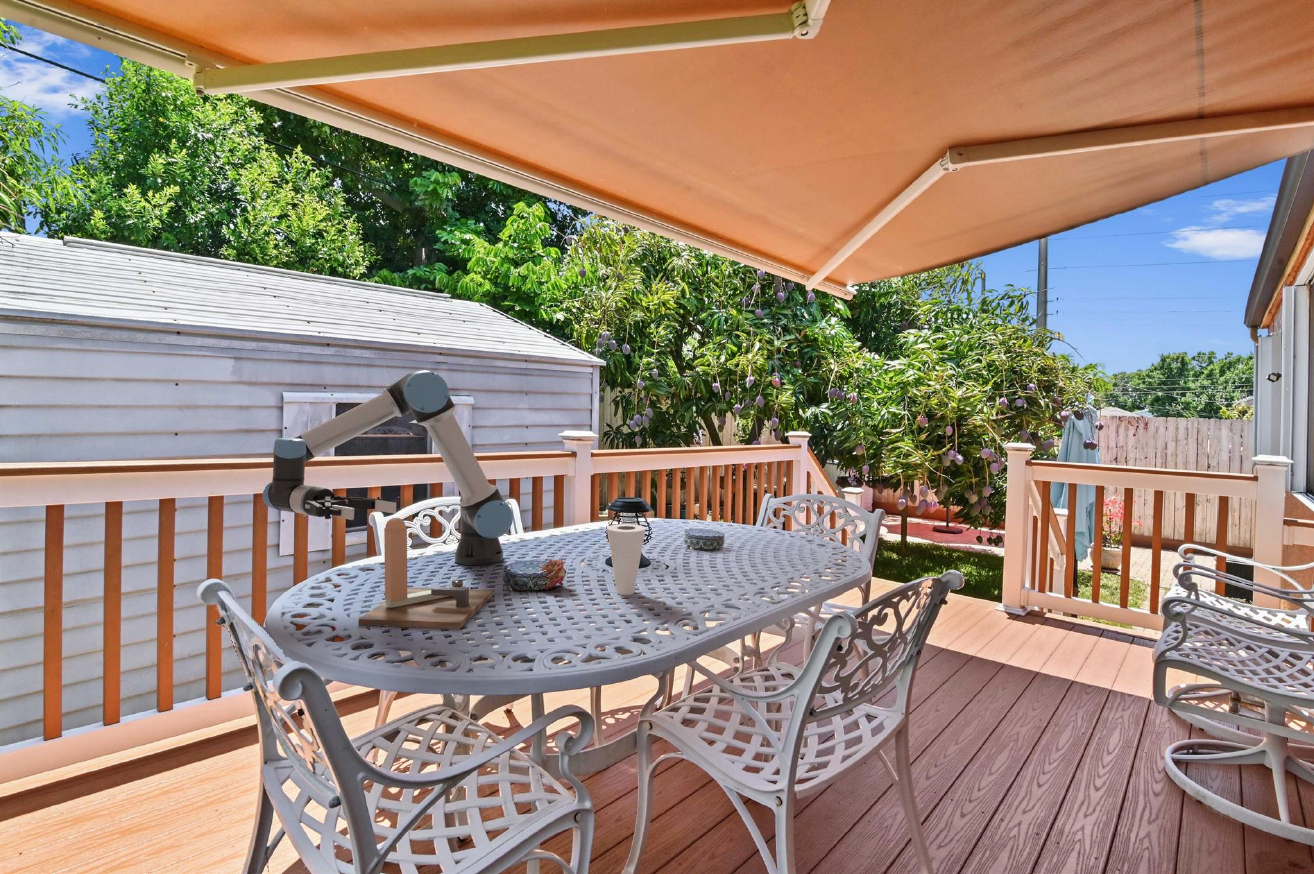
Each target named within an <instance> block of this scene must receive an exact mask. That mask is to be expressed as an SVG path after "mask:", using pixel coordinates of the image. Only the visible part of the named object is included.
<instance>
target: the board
mask: <svg viewBox="0 0 1314 874" xmlns="http://www.w3.org/2000/svg"><path fill="white" fill-rule="evenodd" d="M432 588H433V587H412V586H411V587H408V586H407V594H412V593H417V592H422V591H428V590H431V589H432ZM493 596H494V590H493V589H472V588H469V605H468V606H467V607H466V608H463V607H456V597H452V596H448V597H443V598H437V599H432V600H427V601H422V602H417V603H412V604H407V605H402V606H397V607H392V608H390V607H388V606H387V605H386V600H384V601H383V602H382V603H380V604H378V605H377V606H376V607H374V608H372V609H371V610H369V611H368V612H366V613H365V614H363V616H361V617H359V618H358V626H363V625H385V626H384V627H391V626H397V628H418V627H420V628H424V629H452V630H461V629H462V628H463V626H465V625H466V623H467V622H468V621H469V620H470V619H471V618H473V616H474V615H476V613H478V612H479V610H481V608H482V607H483V606H484V605H485V604H486V603H487V602H488V601H489V600H490V599H491V598H492V597H493ZM386 625H388V626H386Z"/></svg>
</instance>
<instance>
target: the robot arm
mask: <svg viewBox="0 0 1314 874" xmlns="http://www.w3.org/2000/svg"><path fill="white" fill-rule="evenodd" d="M455 408H456V405H455V404H454V401H453V399H452V397H451V395H450V390H449V387H448V384H447V381H446V380H445V379H444V378H443V377H442V376H441V375H439V374H438V373H437V372H434V371H432V370H427V369H426V370H425V369H423V370H422V369H421V370H415V371H412V372H410V373H408V374H406V375H404V376H403V377H402V378H400V379H398V381H396V382H394V383H392V384H390V385H389V386H386V387H385V388H383V391H382V393H381V394H379V395H377V396H375V397H373V398H370V399H369V400H367V401H365V402H362V403H361V404H359V405H357V406H355V407H353V408H351V409H350V410H346V411H345V412H343V413H341V414H339V415H337V416H335V417H333V418H331V419H329V420H327V421H325V422H323V423H321V424H320V425H317V426H316V427H315V426H314V428H311V429H310V430H306V431H305V432H304V433H301V434H300V435H298V436H296V437H280V438H279V437H278V438H276V439H275V440H274V444H273V445H274V446H273V449H272V450H273V451H272V452H273V457H272V458H273V460H272V462H273V463H272V466H273V467H272V468H273V469H272V471H273V472H272V479H271V482H269V483H268V484H266V485H265V487H264V489H263V491H262V500H263V503H264V505H266V506H267V507H268V508H271V509H274V510H277V511H281V512H288V513H295V514H302V516H303V517H307V516H312V517H317V518H324V519H325V520H331V517H334V518H339V519H345V520H350V521H352V520H355V510H374V511H377V512H384V513H389V514H397V502H395V501H387V500H384V499H383V498H381V496H377V498H372V497H359V496H358V497H356V496H355V497H354V496H349V495H348V496H341V495H335V493H334V492H333V490H331V489H330V488H325V487H320V486H315V485H307V484H305V472H306V471H305V470H306V463H307V462H309V461H311V460H313V459H315V458H317V457H319V456H320V455H322V454H325V453H326V452H328V451H330V450H332V449H334V448H336V447H338V446H340V445H342V444H344V443H345V442H348V441H349V440H352V439H354V438H356V437H357V436H359V435H361V434H363V433H366V432H367V431H369V430H371V429H373V428H375V427H377V426H379V425H381V424H383V423H384V422H385V423H386V421H388V420H390V419H392V418H394V417H399V418H402V417H404V416H405V415H407V414H410V413H411V414H412V416H413V417H414V419H415V422H416V423H417V425H420V426H424V427H425V429H426V430H427V432H428V434H429V436H430V438H431V439H432V442H433V444H434V445H435V448H436V450H437V451H438V453H439V455H440V457H441V459H442V461H443V462H444V464H445V466H446V468H447V470H448V472H449V473H450V475H451V477H452V479H453V481H454V483H455V485H456V487H457V488H458V490H459V492H460V499H459V502H460V503H459V504H460V506H459V507H460V516H459V517H460V538H459V541H458V543H457V546H456V550H455V553H454V562H455V563H456V564H459V565H464V566H484V565H485V566H486V565H492V564H497V563H499V562H501V561H503V560H504V551H503V548H502V545H501V542H500V539H499V538H500V537H502V536H504V535H505V534H506V533H508V531H509V530H510V529H511V527H512V525H513V522H514V513H513V510H512V508H511V506H510V505H509V504H508V503H507V502H505V500H504V499H503V496H502V495H501V493H500V491H499V489H498V487H497V486H496V485H493V484H491V483H490V482H489V480H488V479H487V476H486V475H485V473H484V471H483V469H482V467H481V466H480V463H479V461H478V459H477V457H476V456H475V454H474V452H473V450H472V448H471V446H470V444H469V442H468V440H467V438H466V436H465V434H464V432H463V431H462V429H461V427H460V425H459V423H458V421H457V419H456V417H455V415H454V411H455Z"/></svg>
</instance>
